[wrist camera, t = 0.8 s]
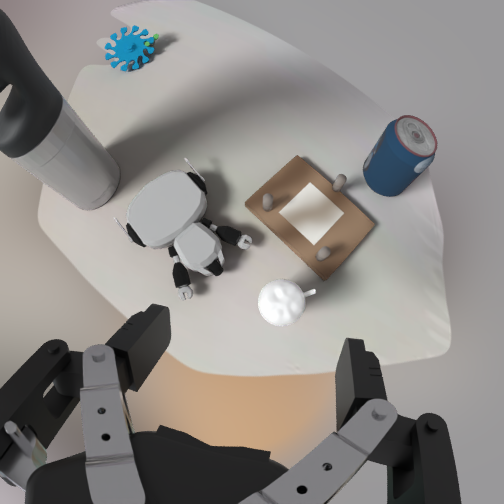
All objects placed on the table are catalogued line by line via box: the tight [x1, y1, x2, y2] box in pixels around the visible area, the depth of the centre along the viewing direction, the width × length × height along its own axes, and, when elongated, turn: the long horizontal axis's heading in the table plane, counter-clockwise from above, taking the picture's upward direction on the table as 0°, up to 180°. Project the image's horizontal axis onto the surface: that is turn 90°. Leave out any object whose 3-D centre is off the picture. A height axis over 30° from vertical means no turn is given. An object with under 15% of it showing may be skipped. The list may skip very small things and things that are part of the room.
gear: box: [105, 26, 159, 71], centre depth 45 cm, size 11×6×10 cm
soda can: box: [363, 115, 437, 197], centre depth 34 cm, size 7×7×12 cm
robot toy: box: [114, 158, 252, 300], centre depth 37 cm, size 12×4×15 cm
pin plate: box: [245, 155, 375, 281], centre depth 36 cm, size 14×11×4 cm
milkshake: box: [258, 279, 316, 326], centre depth 31 cm, size 4×5×10 cm
